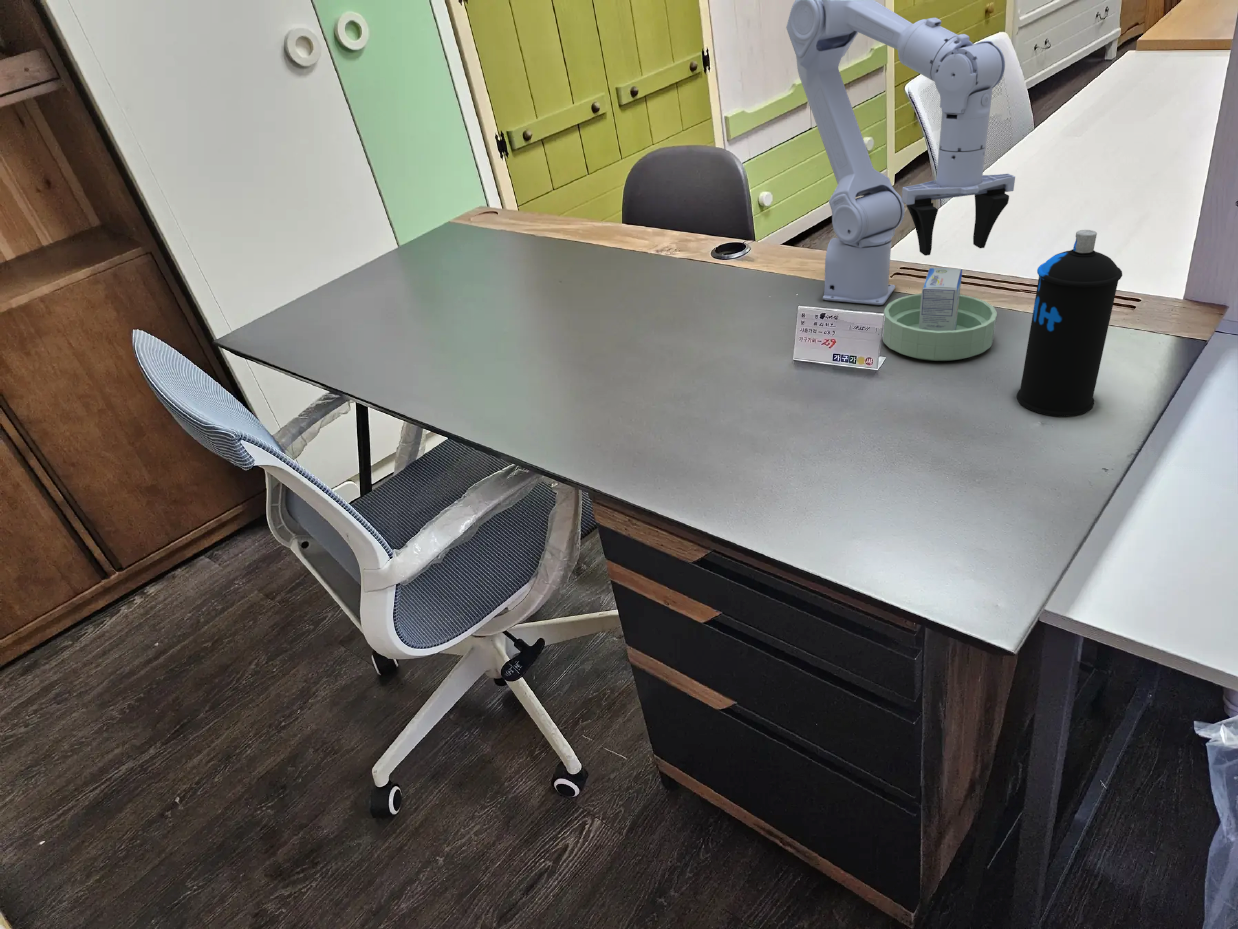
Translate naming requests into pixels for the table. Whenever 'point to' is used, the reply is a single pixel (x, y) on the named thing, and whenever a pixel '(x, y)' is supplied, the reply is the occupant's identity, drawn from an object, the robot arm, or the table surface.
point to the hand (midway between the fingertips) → (951, 249)
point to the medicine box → (940, 299)
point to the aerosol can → (1068, 329)
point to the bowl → (939, 345)
